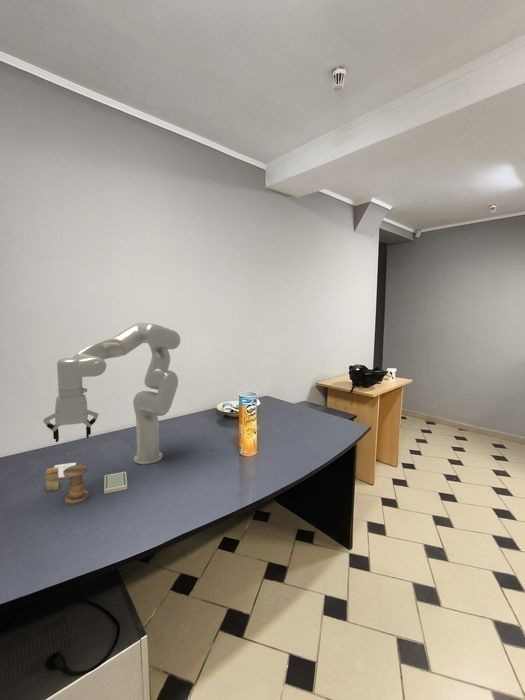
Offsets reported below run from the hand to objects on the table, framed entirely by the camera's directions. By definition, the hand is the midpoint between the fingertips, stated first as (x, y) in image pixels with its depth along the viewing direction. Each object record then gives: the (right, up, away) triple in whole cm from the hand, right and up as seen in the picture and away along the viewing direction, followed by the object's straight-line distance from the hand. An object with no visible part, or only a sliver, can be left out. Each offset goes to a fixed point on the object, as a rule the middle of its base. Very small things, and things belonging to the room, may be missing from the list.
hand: (72, 438), depth 121 cm
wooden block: (-12, -21, +7) cm, 25 cm away
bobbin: (+1, -22, +1) cm, 22 cm away
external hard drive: (-15, -20, +19) cm, 31 cm away
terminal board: (+11, -21, +10) cm, 26 cm away
